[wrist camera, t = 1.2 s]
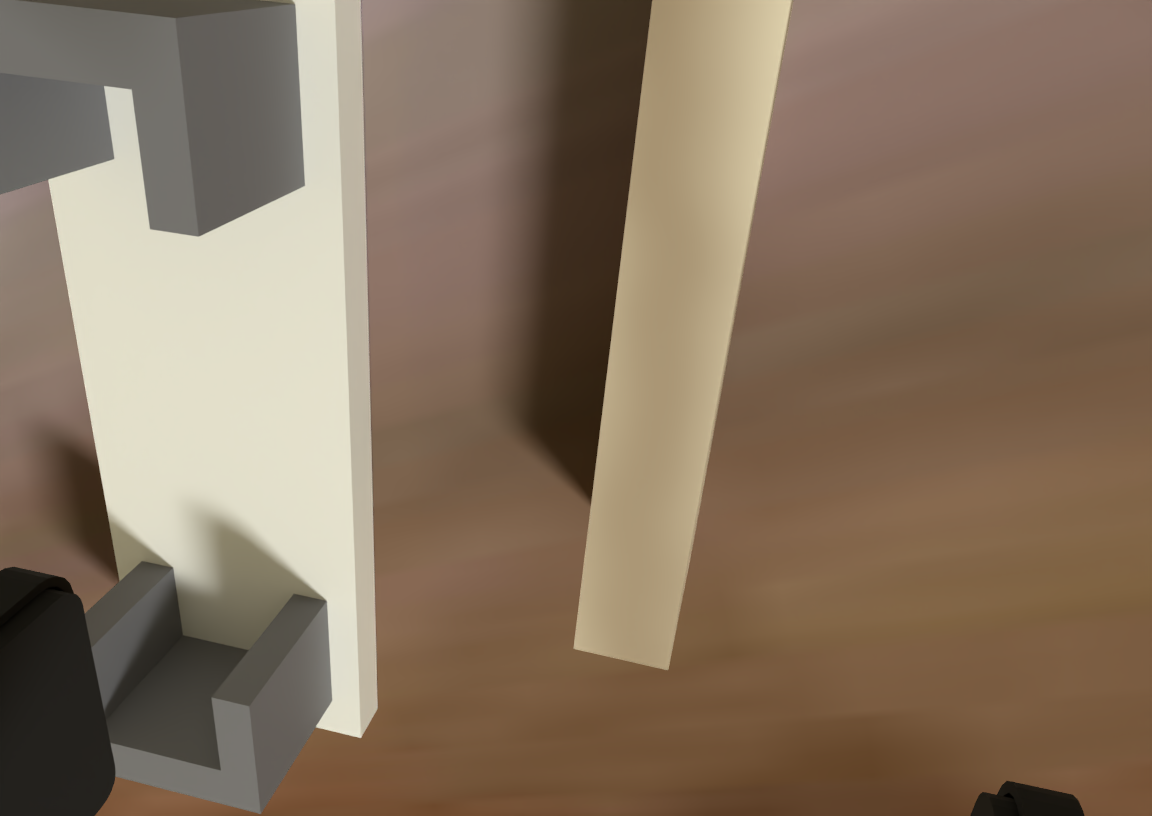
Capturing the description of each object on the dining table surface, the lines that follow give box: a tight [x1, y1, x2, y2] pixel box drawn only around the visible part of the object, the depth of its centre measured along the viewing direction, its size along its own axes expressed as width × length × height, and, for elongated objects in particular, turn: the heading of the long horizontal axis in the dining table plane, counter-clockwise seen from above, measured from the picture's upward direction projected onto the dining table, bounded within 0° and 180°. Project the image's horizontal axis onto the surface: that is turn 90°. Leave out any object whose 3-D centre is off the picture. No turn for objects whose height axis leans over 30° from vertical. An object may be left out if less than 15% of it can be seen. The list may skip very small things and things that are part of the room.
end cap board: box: [0, 0, 378, 814], centre depth 27 cm, size 9×26×6 cm, turn 175°
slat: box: [574, 0, 793, 670], centre depth 23 cm, size 2×18×6 cm, turn 174°
